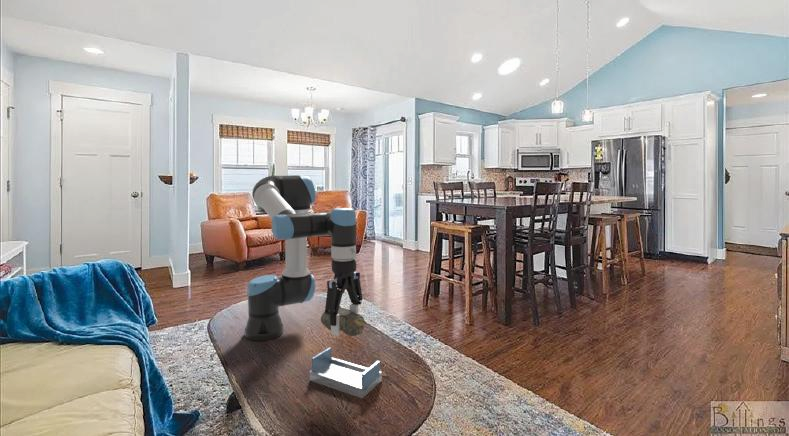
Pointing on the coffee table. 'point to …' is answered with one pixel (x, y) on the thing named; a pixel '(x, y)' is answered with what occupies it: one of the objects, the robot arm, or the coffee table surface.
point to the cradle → (344, 374)
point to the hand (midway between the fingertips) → (344, 329)
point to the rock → (346, 322)
